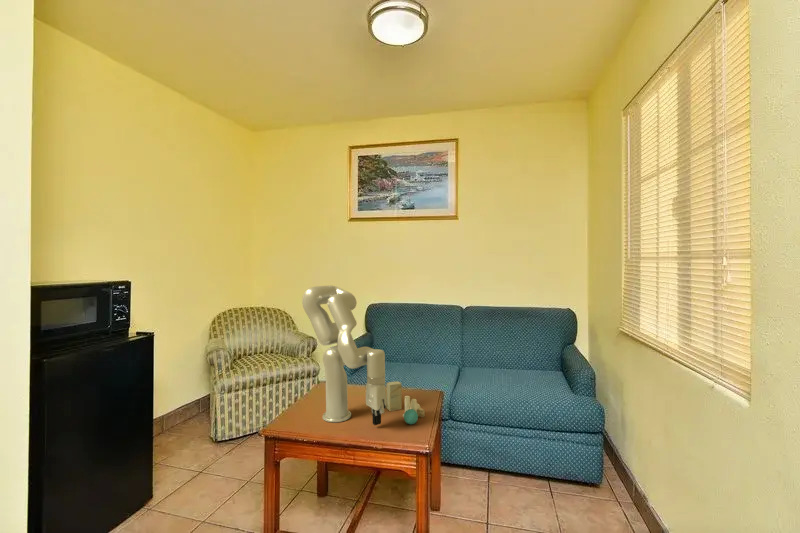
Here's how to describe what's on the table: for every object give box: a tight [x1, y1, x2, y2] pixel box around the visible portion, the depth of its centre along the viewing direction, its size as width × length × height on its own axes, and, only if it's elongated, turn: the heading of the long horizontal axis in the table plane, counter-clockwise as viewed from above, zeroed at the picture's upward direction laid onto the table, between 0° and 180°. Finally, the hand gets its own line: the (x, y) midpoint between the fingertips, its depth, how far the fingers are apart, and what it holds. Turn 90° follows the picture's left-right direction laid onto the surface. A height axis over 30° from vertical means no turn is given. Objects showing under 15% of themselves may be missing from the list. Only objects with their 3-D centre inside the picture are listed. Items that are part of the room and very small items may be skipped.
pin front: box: [402, 402, 421, 419], centre depth 164 cm, size 2×2×8 cm
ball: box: [403, 409, 419, 425], centre depth 157 cm, size 6×6×6 cm
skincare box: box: [386, 380, 403, 412], centre depth 175 cm, size 6×4×12 cm
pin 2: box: [410, 398, 418, 412], centre depth 162 cm, size 2×2×8 cm
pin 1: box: [404, 395, 411, 413], centre depth 166 cm, size 2×2×8 cm
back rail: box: [410, 402, 426, 418], centre depth 169 cm, size 12×2×3 cm, turn 34°
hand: (376, 423), depth 154 cm, fingers closed
